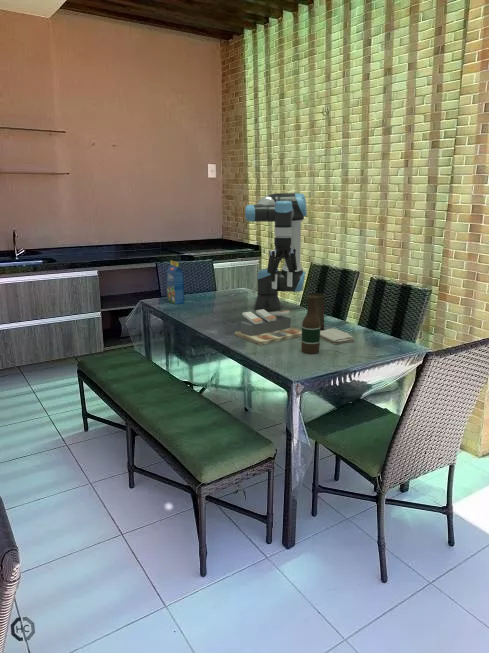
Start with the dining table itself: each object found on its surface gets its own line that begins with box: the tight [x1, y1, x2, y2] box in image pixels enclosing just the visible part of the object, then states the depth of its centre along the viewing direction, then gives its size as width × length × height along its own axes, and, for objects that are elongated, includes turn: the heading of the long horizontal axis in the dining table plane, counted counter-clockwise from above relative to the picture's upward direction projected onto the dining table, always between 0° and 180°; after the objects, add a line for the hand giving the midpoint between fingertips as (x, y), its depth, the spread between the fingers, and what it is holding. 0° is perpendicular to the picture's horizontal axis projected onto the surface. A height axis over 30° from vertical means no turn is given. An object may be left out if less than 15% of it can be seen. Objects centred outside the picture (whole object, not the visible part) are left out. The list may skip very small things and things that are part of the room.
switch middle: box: [255, 309, 276, 322], centre depth 236 cm, size 4×10×2 cm, turn 36°
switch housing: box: [239, 314, 292, 336], centre depth 237 cm, size 24×8×5 cm, turn 126°
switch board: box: [234, 325, 302, 346], centre depth 234 cm, size 28×20×2 cm
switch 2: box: [269, 309, 290, 317], centre depth 240 cm, size 4×10×2 cm, turn 36°
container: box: [307, 292, 327, 331], centre depth 239 cm, size 9×9×18 cm
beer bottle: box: [301, 295, 321, 355], centre depth 208 cm, size 8×8×24 cm
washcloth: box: [320, 328, 355, 346], centre depth 229 cm, size 12×18×3 cm, turn 28°
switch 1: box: [242, 311, 263, 324], centre depth 231 cm, size 4×10×2 cm, turn 36°
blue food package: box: [166, 259, 185, 305], centre depth 301 cm, size 6×12×25 cm, turn 31°
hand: (282, 287), depth 226 cm, fingers open, 8 cm apart
